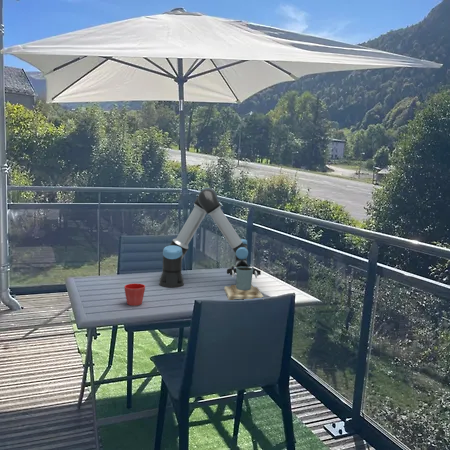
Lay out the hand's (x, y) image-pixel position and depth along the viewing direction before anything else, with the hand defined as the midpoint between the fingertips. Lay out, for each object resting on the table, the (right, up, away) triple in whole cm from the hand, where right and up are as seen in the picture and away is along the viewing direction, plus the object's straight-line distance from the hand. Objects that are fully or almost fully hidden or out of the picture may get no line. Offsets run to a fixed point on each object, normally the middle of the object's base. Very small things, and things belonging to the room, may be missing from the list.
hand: (244, 275), depth 261 cm
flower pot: (-60, -13, -21) cm, 65 cm away
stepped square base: (-1, -12, +5) cm, 13 cm away
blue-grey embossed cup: (-1, -8, +4) cm, 9 cm away
